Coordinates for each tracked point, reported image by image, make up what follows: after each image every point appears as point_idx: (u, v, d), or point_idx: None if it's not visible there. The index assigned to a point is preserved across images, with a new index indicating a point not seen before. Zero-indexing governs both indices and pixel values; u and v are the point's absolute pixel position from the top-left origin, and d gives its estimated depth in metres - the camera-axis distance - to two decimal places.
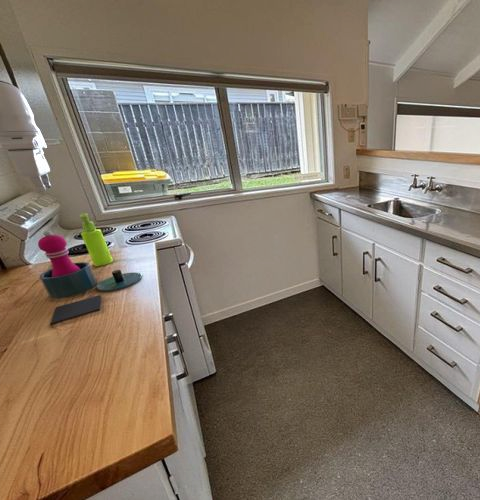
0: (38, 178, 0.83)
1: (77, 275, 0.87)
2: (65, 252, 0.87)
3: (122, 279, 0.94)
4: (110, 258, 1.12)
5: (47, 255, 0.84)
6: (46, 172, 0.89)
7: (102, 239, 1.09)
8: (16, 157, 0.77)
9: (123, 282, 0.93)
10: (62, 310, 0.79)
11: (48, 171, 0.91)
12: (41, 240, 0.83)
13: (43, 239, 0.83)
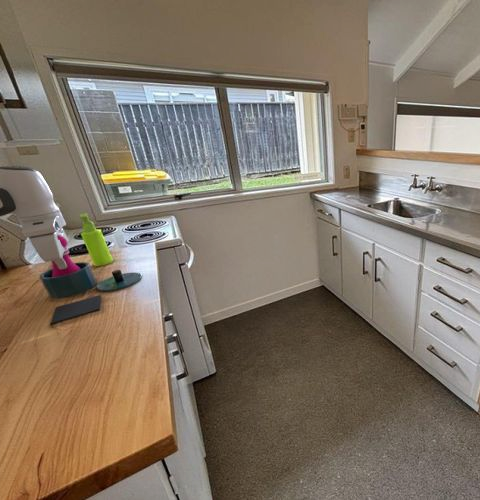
0: None
1: (77, 275, 0.87)
2: (66, 252, 0.87)
3: (122, 279, 0.94)
4: (110, 258, 1.12)
5: None
6: None
7: (102, 239, 1.09)
8: (38, 244, 0.77)
9: (123, 282, 0.93)
10: (62, 310, 0.79)
11: None
12: None
13: None
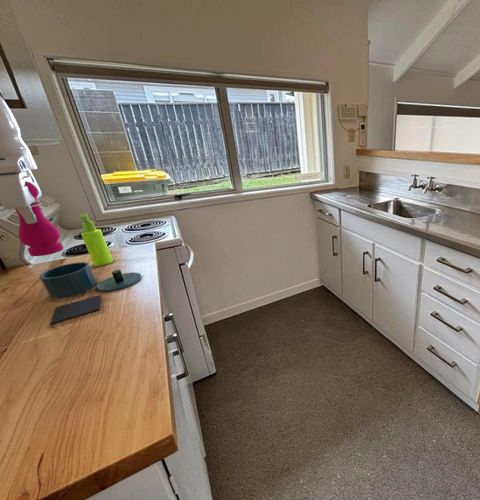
0: (27, 207, 0.66)
1: (77, 275, 0.87)
2: (36, 203, 0.70)
3: (122, 279, 0.94)
4: (110, 258, 1.12)
5: None
6: None
7: (102, 239, 1.09)
8: None
9: (123, 282, 0.93)
10: (62, 310, 0.79)
11: (39, 196, 0.74)
12: None
13: None
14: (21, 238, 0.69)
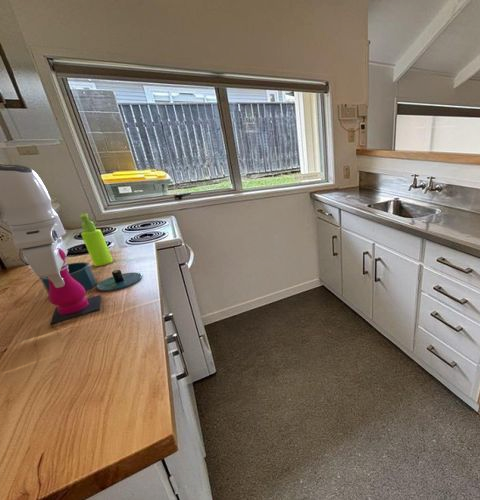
0: (56, 274, 0.70)
1: (77, 275, 0.87)
2: (64, 267, 0.75)
3: (122, 279, 0.94)
4: (110, 258, 1.12)
5: None
6: None
7: (102, 239, 1.09)
8: (32, 257, 0.65)
9: (123, 282, 0.93)
10: None
11: None
12: None
13: None
14: (51, 300, 0.75)
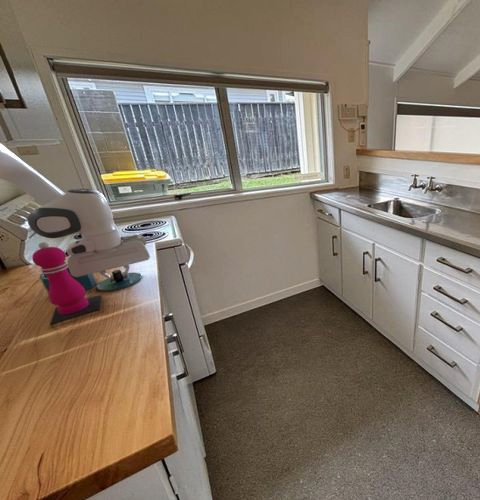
0: None
1: None
2: (64, 267, 0.75)
3: (122, 279, 0.94)
4: None
5: (43, 271, 0.73)
6: (119, 266, 0.92)
7: None
8: None
9: (123, 282, 0.93)
10: None
11: (133, 262, 0.94)
12: (36, 253, 0.71)
13: (38, 252, 0.71)
14: (51, 300, 0.75)
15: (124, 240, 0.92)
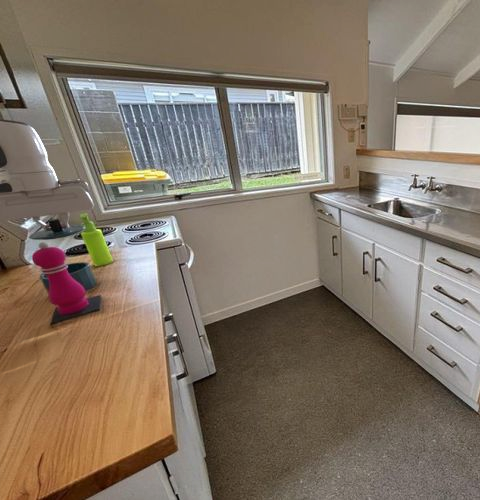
0: None
1: (77, 275, 0.87)
2: (64, 267, 0.75)
3: (61, 229, 0.84)
4: (110, 258, 1.12)
5: (43, 271, 0.73)
6: (56, 213, 0.82)
7: (102, 239, 1.09)
8: None
9: (61, 232, 0.83)
10: None
11: (73, 210, 0.84)
12: (36, 254, 0.71)
13: (38, 252, 0.71)
14: (51, 300, 0.75)
15: (62, 184, 0.82)
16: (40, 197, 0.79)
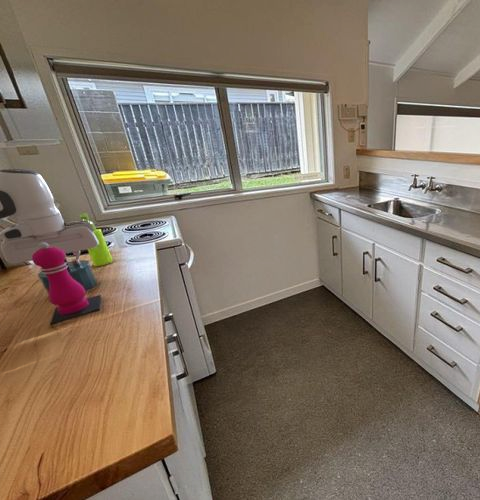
0: None
1: (77, 275, 0.87)
2: (64, 267, 0.75)
3: None
4: (110, 258, 1.12)
5: (43, 271, 0.73)
6: None
7: (102, 239, 1.09)
8: None
9: (68, 269, 0.87)
10: None
11: (79, 249, 0.88)
12: (36, 254, 0.71)
13: (38, 252, 0.71)
14: (51, 300, 0.75)
15: (68, 226, 0.86)
16: (47, 239, 0.83)
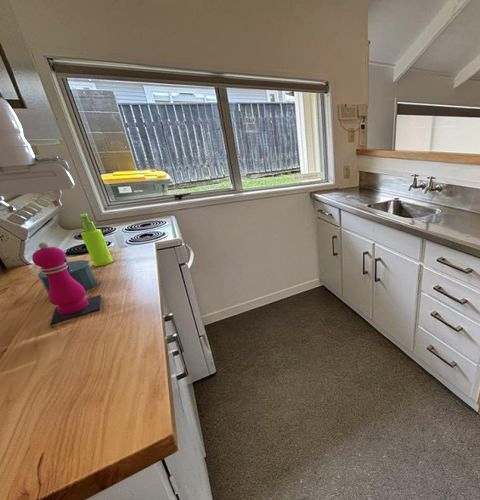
0: None
1: (77, 275, 0.87)
2: (64, 267, 0.75)
3: None
4: (110, 258, 1.12)
5: (43, 271, 0.73)
6: (34, 191, 0.79)
7: (102, 239, 1.09)
8: None
9: (68, 269, 0.87)
10: None
11: (52, 189, 0.81)
12: (36, 254, 0.71)
13: (38, 252, 0.71)
14: (51, 300, 0.75)
15: (39, 161, 0.79)
16: (16, 174, 0.76)
